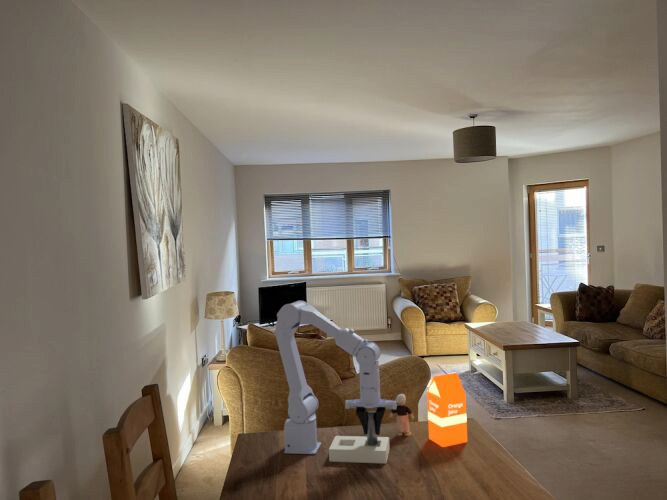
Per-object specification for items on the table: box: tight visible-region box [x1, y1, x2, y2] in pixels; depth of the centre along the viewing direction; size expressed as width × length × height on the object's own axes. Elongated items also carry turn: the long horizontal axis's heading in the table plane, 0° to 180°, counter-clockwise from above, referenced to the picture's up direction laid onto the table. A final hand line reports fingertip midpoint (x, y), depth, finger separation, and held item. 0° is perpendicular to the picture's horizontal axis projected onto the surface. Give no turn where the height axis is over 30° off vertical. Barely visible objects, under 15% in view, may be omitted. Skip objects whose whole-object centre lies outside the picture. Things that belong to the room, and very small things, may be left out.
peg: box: [366, 410, 378, 446], centre depth 150 cm, size 3×3×9 cm
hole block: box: [328, 435, 390, 464], centre depth 151 cm, size 16×10×4 cm, turn 79°
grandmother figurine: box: [389, 393, 415, 437], centre depth 165 cm, size 8×4×13 cm, turn 84°
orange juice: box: [426, 372, 468, 448], centre depth 159 cm, size 8×9×20 cm
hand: (372, 433), depth 150 cm, fingers closed on peg, 3 cm apart
